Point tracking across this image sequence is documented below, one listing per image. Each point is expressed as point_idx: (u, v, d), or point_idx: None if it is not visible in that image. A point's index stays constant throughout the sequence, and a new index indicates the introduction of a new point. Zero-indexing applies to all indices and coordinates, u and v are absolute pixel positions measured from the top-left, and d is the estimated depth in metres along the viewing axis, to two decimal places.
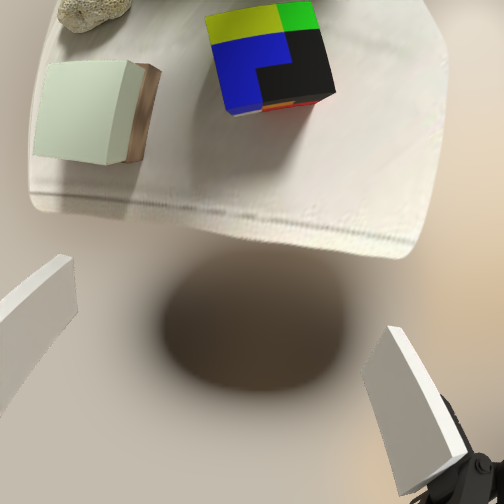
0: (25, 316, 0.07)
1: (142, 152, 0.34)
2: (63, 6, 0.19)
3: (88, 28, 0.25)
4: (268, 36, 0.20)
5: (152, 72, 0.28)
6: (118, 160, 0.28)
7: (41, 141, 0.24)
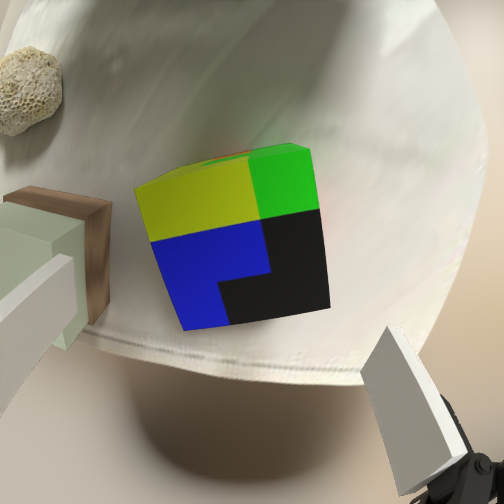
0: (26, 316, 0.07)
1: (107, 298, 0.29)
2: None
3: (19, 132, 0.21)
4: (235, 230, 0.16)
5: (97, 218, 0.23)
6: (79, 331, 0.24)
7: None
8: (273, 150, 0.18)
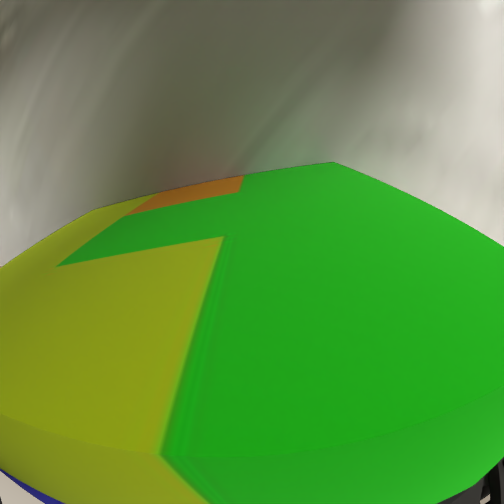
0: None
1: None
2: None
3: None
4: None
5: None
6: None
7: None
8: (323, 210, 0.05)
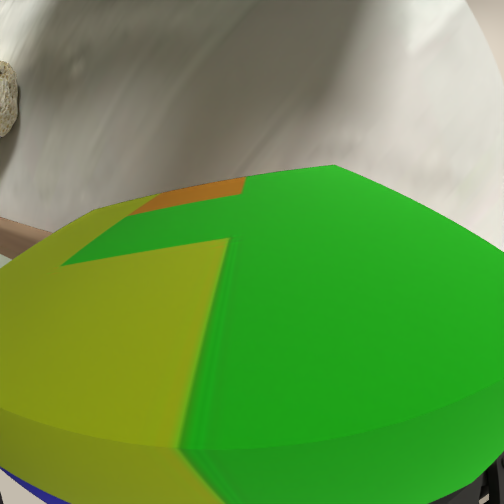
0: None
1: None
2: None
3: None
4: None
5: None
6: None
7: None
8: (326, 213, 0.05)
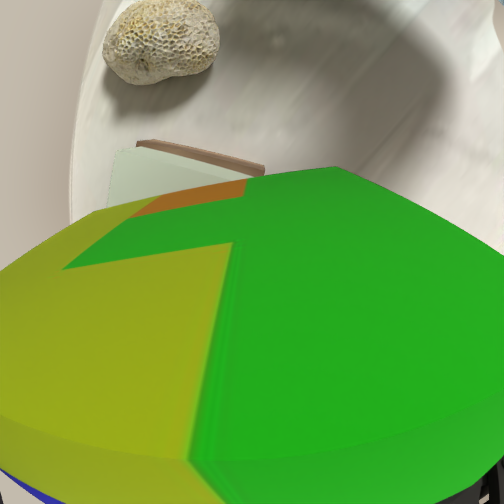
0: None
1: None
2: (118, 48, 0.18)
3: (151, 82, 0.24)
4: None
5: None
6: None
7: None
8: (329, 217, 0.05)
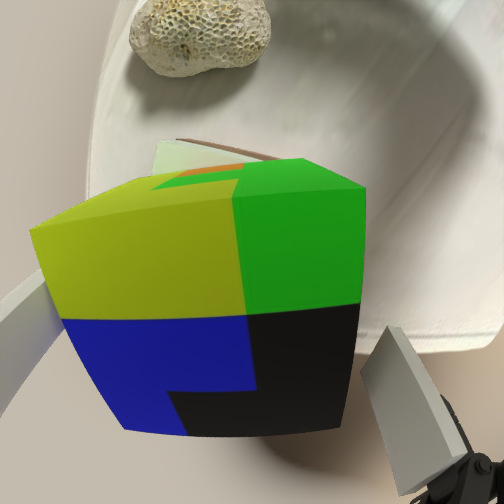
0: (26, 316, 0.07)
1: None
2: (156, 29, 0.15)
3: (188, 74, 0.21)
4: (197, 327, 0.08)
5: None
6: None
7: None
8: (282, 172, 0.10)
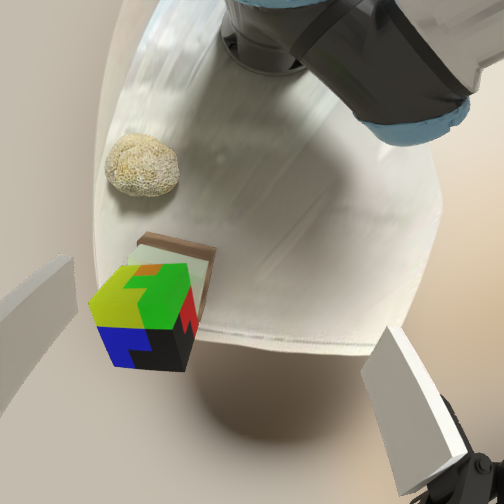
0: (26, 315, 0.07)
1: (204, 304, 0.51)
2: (116, 183, 0.37)
3: None
4: (133, 330, 0.30)
5: (212, 259, 0.45)
6: None
7: None
8: (160, 285, 0.32)
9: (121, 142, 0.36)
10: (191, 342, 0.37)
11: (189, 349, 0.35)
